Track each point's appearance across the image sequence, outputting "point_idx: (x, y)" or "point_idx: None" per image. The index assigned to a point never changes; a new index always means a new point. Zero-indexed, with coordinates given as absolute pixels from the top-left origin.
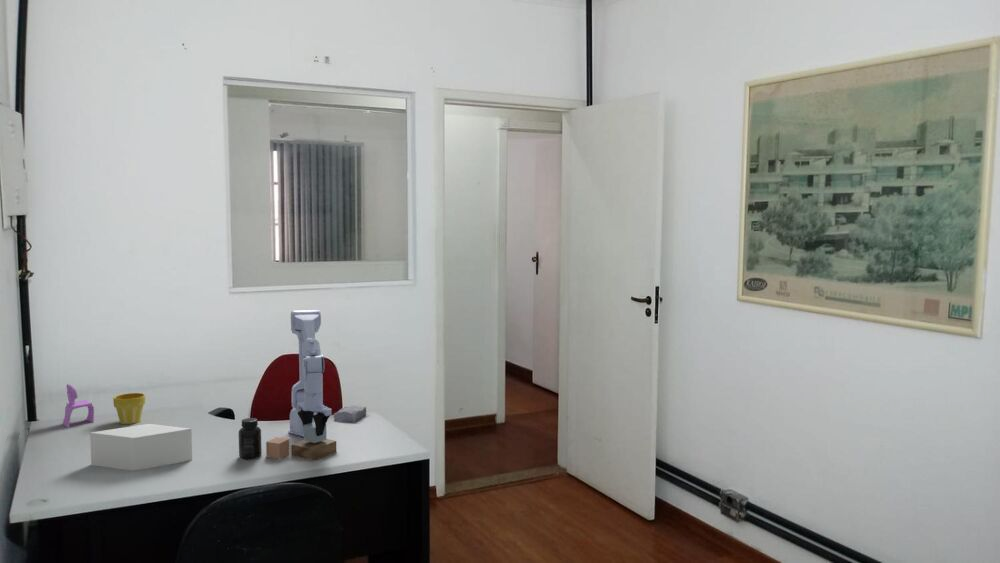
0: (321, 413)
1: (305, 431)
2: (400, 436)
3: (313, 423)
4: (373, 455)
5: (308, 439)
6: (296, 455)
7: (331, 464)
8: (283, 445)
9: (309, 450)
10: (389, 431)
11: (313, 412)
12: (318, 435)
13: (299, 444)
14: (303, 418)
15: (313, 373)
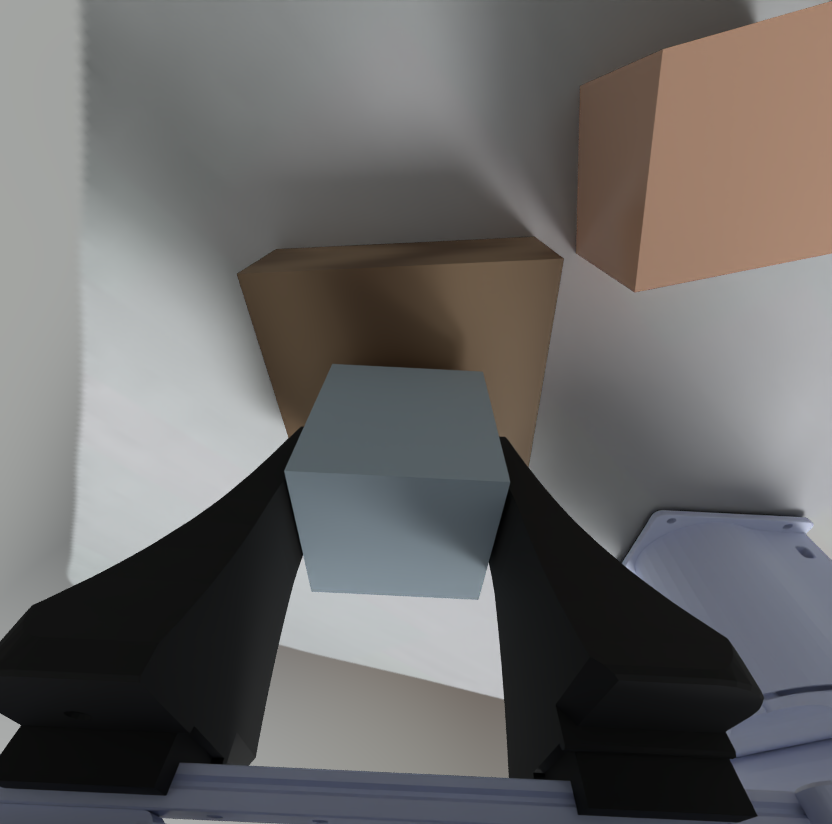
0: (31, 781)
1: (467, 425)
2: (289, 644)
3: (449, 560)
4: (137, 493)
5: (416, 377)
6: (476, 240)
7: (117, 266)
8: (625, 167)
9: (311, 266)
10: (366, 656)
11: (509, 727)
12: (294, 432)
13: (484, 304)
14: (543, 573)
15: None
